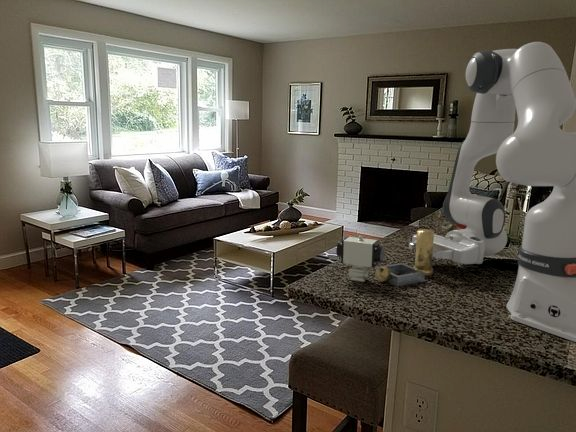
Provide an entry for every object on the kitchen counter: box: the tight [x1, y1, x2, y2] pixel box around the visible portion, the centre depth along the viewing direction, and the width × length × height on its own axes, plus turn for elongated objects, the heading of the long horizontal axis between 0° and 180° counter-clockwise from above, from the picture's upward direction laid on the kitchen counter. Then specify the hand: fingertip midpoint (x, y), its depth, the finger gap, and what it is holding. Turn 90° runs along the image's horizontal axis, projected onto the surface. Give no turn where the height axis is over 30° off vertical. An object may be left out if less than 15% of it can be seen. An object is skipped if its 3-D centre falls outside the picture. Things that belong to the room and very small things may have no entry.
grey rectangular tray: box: [375, 262, 426, 287], centre depth 118 cm, size 9×11×4 cm
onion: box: [441, 223, 462, 237], centre depth 149 cm, size 8×8×8 cm
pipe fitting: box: [412, 228, 435, 277], centre depth 122 cm, size 5×5×12 cm
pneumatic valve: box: [335, 235, 386, 283], centre depth 117 cm, size 6×12×12 cm, turn 63°
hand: (422, 250), depth 122 cm, fingers open, 8 cm apart
